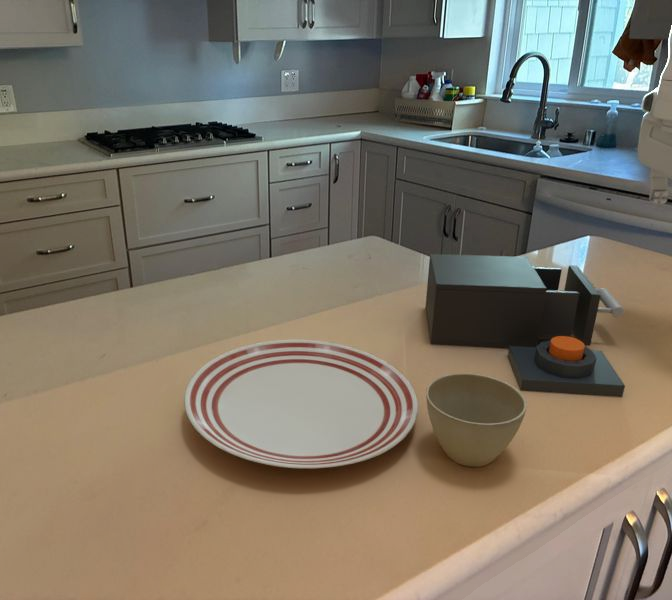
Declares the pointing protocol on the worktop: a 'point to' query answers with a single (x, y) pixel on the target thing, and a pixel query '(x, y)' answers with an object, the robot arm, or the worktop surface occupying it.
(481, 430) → the olive beige bowl
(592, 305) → the drawer
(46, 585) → the worktop surface
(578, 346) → the button
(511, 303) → the dark grey box
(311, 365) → the dinner plate
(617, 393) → the control pad
